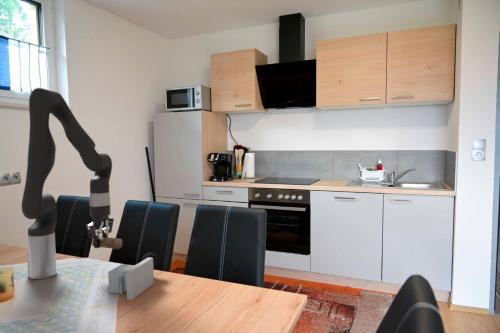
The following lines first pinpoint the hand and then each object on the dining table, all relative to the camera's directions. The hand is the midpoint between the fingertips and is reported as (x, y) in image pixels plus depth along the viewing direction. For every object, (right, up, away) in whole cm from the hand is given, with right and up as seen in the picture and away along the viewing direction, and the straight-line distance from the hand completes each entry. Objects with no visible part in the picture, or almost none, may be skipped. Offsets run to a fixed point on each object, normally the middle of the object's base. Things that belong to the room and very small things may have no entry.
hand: (100, 246), depth 134 cm
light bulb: (+20, -13, 0) cm, 24 cm away
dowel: (+3, 0, -1) cm, 3 cm away
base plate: (+19, -13, -12) cm, 26 cm away
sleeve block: (+13, -13, -11) cm, 21 cm away
